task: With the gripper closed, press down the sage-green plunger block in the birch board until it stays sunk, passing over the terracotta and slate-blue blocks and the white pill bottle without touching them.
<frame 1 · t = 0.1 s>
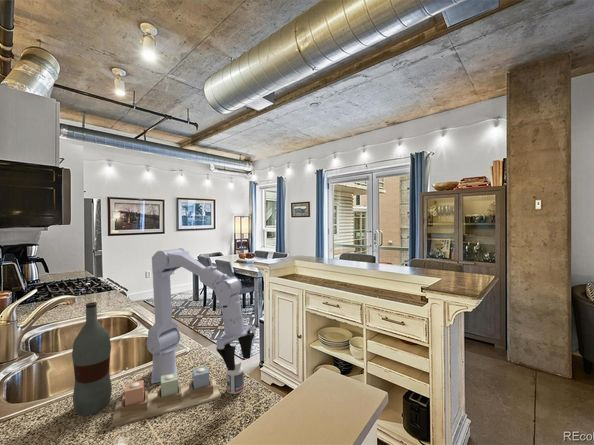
hand: (239, 363, 87), 11 cm above the countertop, tool pointing down, fingers open, 7 cm apart
slate-blue block: (200, 377, 90), point 5 cm above the countertop, slide at 0.0 cm
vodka: (93, 407, 84), on the countertop
sage block: (169, 385, 87), point 5 cm above the countertop, slide at 0.0 cm
pill bottle: (235, 390, 92), on the countertop
birch board: (169, 400, 87), on the countertop
terracotta block: (134, 393, 83), point 5 cm above the countertop, slide at 0.0 cm
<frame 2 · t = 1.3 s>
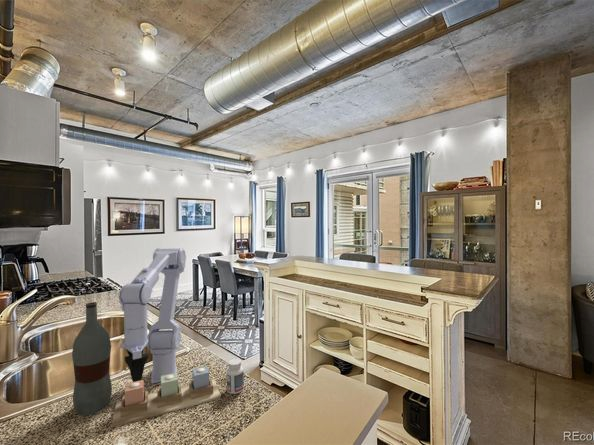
hand: (136, 374, 82), 10 cm above the countertop, tool pointing down, fingers open, 7 cm apart
nothing on the countertop moved.
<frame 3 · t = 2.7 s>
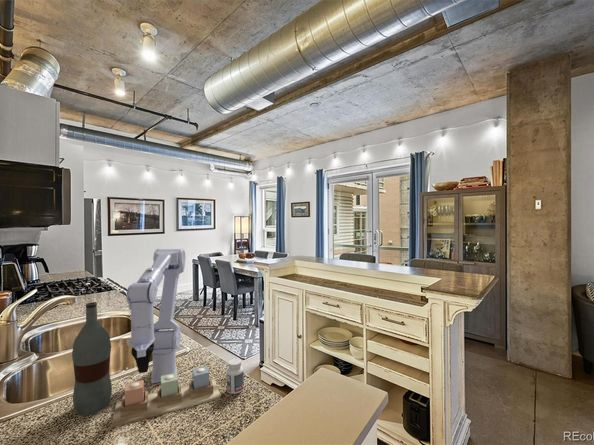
hand: (143, 371, 84), 10 cm above the countertop, tool pointing down, fingers closed
nothing on the countertop moved.
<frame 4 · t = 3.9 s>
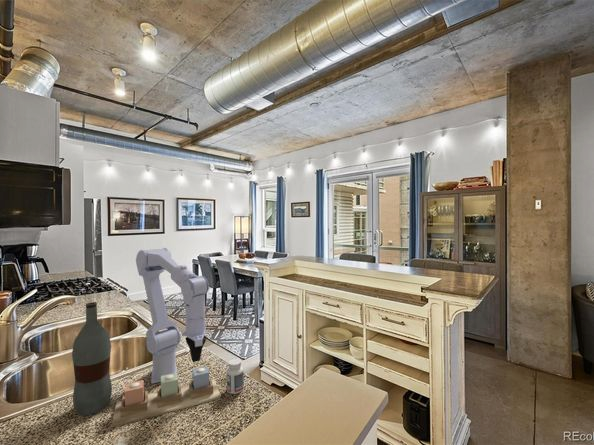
hand: (195, 360, 90), 10 cm above the countertop, tool pointing down, fingers closed
nothing on the countertop moved.
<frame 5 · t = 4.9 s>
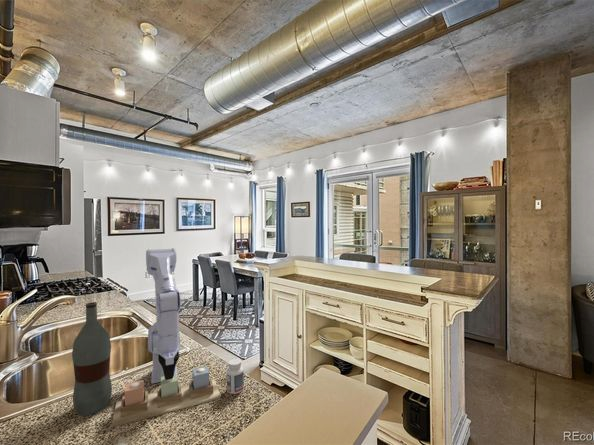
hand: (169, 378, 86), 7 cm above the countertop, tool pointing down, fingers closed, pressing on sage block
sage block: (169, 385, 87), point 4 cm above the countertop, slide at 0.3 cm, touching gripper
everything else where it was.
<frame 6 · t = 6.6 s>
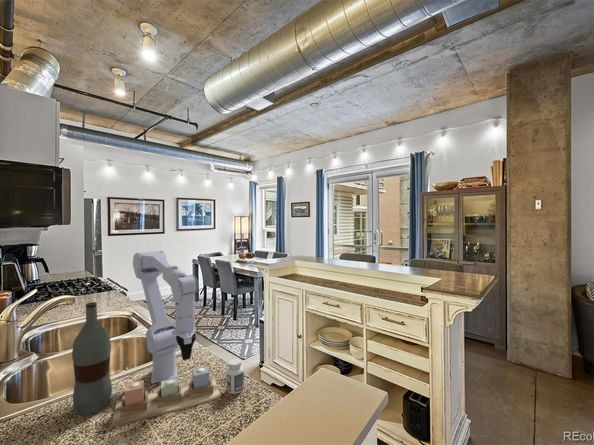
hand: (186, 358, 91), 10 cm above the countertop, tool pointing down, fingers closed
sage block: (169, 390, 87), point 3 cm above the countertop, slide at 1.6 cm
everything else where it was.
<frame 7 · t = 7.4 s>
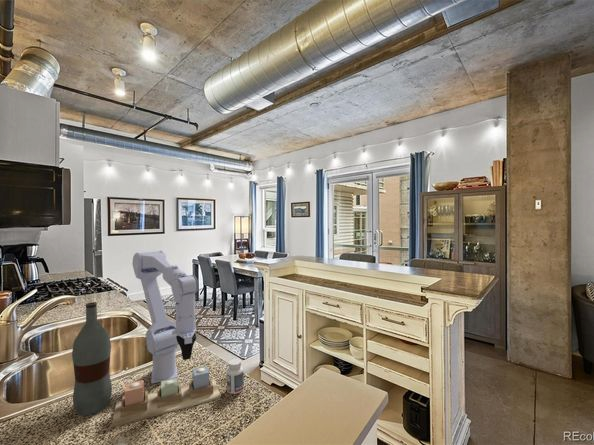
hand: (186, 358, 91), 10 cm above the countertop, tool pointing down, fingers closed
nothing on the countertop moved.
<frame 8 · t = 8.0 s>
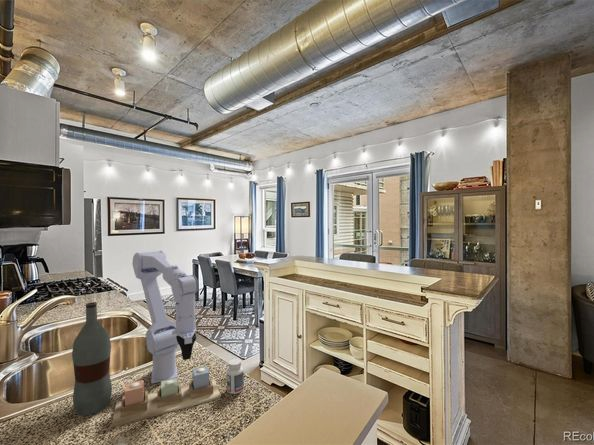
hand: (186, 358, 91), 10 cm above the countertop, tool pointing down, fingers closed
nothing on the countertop moved.
at the end: sage block slide at 1.6 cm; terracotta block slide at 0.0 cm; slate-blue block slide at 0.0 cm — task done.
